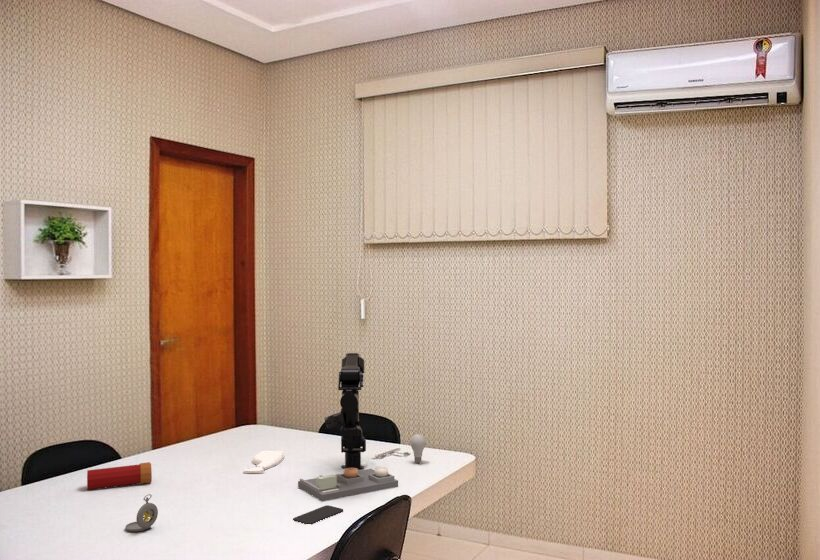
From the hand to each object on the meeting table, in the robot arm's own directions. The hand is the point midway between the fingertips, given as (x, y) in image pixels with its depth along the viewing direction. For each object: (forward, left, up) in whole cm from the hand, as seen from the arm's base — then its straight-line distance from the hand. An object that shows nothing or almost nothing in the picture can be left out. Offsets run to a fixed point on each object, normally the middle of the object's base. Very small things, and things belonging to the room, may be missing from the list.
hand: (350, 451), depth 227 cm
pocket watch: (+3, -68, -12) cm, 69 cm away
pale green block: (+4, -11, -10) cm, 15 cm away
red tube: (-44, -64, -12) cm, 79 cm away
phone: (+20, -22, -12) cm, 32 cm away
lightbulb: (-12, +36, -12) cm, 40 cm away
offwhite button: (+5, +9, -8) cm, 13 cm away
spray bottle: (-42, -14, -12) cm, 46 cm away
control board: (0, -1, -12) cm, 12 cm away
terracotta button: (0, 0, -8) cm, 8 cm away
